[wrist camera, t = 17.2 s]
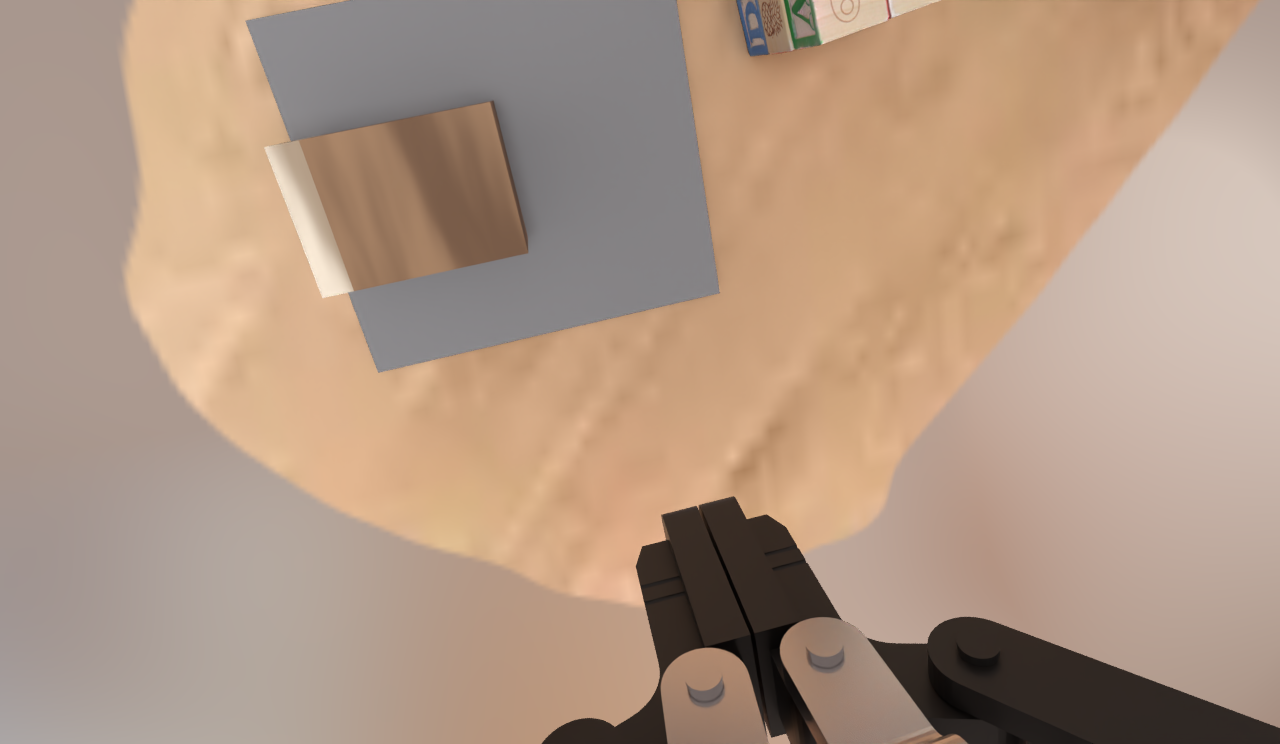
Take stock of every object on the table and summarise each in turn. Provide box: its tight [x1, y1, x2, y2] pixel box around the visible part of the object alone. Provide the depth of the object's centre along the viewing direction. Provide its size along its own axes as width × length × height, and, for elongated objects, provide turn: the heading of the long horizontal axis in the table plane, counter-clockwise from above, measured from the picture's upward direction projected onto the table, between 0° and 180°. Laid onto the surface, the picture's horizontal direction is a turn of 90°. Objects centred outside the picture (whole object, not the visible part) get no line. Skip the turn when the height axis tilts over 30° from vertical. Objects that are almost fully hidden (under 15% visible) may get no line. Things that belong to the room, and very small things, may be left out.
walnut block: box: [264, 101, 528, 298], centre depth 34 cm, size 4×7×10 cm
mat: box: [246, 0, 720, 373], centre depth 36 cm, size 20×18×1 cm
